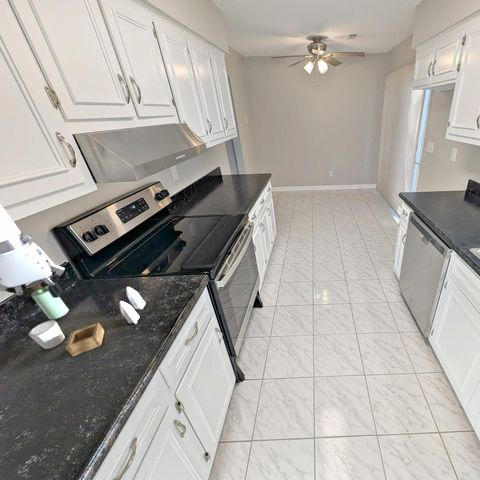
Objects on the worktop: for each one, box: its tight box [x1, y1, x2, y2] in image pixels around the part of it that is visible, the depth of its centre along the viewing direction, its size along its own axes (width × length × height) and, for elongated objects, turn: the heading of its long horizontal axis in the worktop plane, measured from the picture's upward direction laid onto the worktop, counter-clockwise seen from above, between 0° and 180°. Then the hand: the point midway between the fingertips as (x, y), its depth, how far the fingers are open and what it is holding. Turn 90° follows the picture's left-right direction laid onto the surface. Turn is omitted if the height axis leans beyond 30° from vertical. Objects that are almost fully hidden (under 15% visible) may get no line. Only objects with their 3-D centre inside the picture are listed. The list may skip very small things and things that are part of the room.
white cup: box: [28, 319, 66, 350], centre depth 86 cm, size 7×7×7 cm
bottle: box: [28, 280, 70, 320], centre depth 74 cm, size 5×5×12 cm
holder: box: [65, 322, 105, 357], centre depth 85 cm, size 8×8×4 cm
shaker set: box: [118, 286, 146, 325], centre depth 95 cm, size 12×4×11 cm, turn 12°
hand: (46, 298), depth 74 cm, fingers closed on bottle, 4 cm apart
